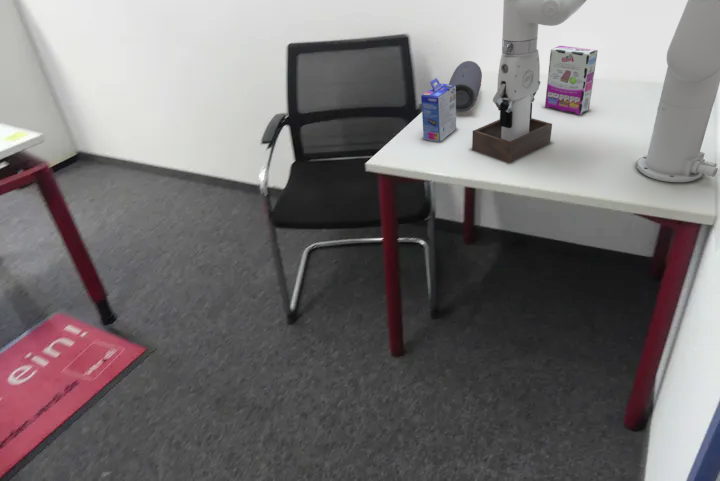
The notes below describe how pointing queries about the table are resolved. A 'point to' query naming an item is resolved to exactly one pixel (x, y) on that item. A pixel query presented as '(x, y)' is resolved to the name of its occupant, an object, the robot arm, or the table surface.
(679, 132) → the robot arm
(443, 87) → the ink cartridge box
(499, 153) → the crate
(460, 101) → the bluetooth speaker
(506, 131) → the can
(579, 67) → the candy bar box
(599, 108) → the table surface
